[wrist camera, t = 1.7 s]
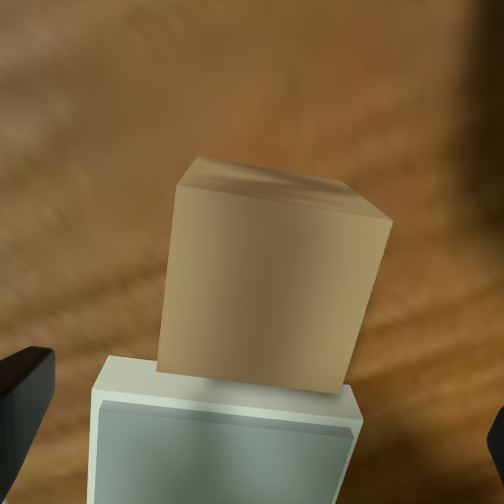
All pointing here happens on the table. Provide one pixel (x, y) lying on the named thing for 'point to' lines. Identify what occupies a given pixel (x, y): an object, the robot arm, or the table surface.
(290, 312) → the oak cube
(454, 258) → the table surface
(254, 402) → the pedestal
